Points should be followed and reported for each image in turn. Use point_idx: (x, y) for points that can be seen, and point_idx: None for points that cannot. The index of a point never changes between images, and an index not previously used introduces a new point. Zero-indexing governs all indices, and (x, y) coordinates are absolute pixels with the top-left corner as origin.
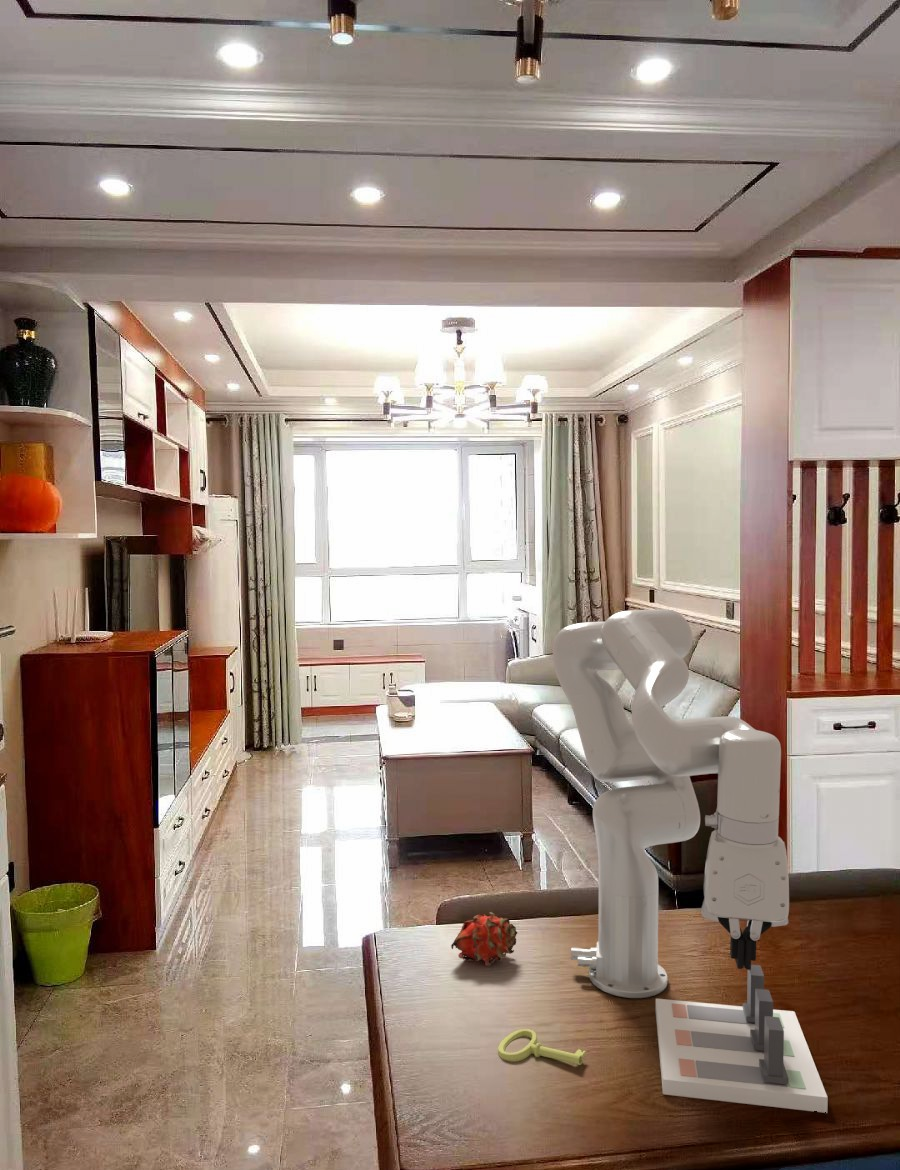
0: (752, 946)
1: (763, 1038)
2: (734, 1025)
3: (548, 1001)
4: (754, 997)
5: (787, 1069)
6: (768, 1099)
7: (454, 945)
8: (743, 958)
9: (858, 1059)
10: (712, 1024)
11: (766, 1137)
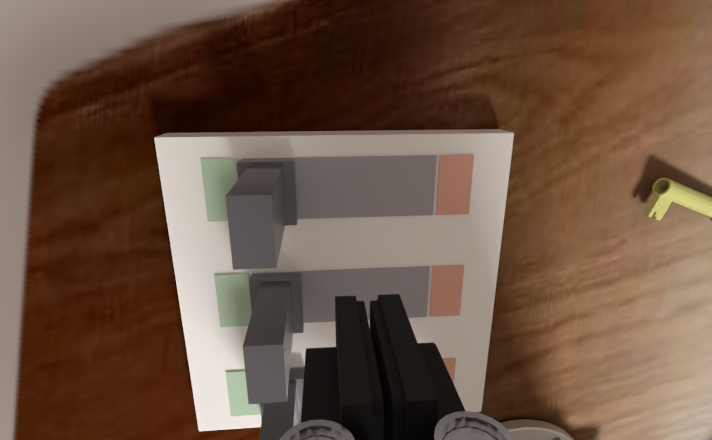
0: (326, 399)
1: (278, 290)
2: None
3: (668, 378)
4: (285, 415)
5: None
6: (287, 133)
7: None
8: (379, 327)
9: (85, 327)
10: None
11: (305, 21)
